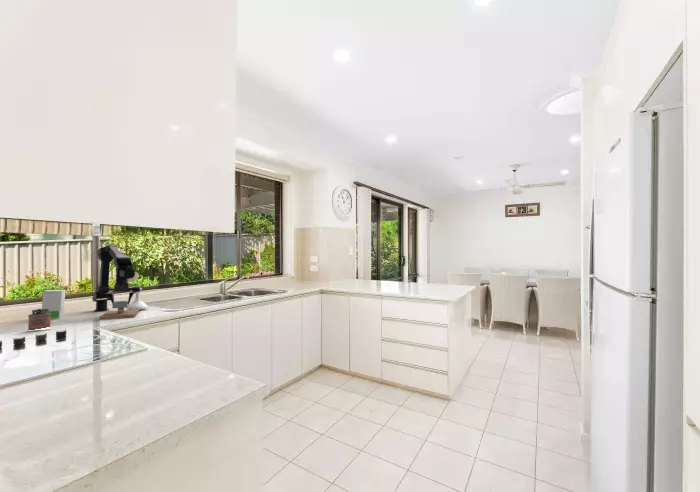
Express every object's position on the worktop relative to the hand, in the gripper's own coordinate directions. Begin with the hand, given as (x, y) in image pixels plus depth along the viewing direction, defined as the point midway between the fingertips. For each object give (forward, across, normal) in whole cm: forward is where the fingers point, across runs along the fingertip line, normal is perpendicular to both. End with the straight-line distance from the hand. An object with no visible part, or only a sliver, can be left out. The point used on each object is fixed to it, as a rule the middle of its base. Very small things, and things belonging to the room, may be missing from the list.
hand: (120, 304), depth 186 cm
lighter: (+7, -27, -28) cm, 40 cm away
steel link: (+2, 0, 0) cm, 2 cm away
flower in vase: (+7, +5, +19) cm, 21 cm away
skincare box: (+7, -32, +6) cm, 33 cm away
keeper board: (+6, 0, 0) cm, 7 cm away
